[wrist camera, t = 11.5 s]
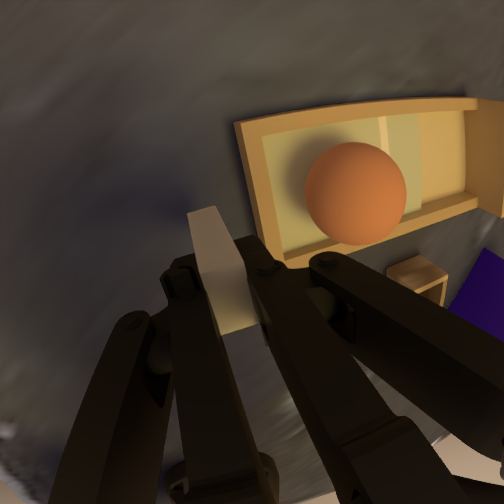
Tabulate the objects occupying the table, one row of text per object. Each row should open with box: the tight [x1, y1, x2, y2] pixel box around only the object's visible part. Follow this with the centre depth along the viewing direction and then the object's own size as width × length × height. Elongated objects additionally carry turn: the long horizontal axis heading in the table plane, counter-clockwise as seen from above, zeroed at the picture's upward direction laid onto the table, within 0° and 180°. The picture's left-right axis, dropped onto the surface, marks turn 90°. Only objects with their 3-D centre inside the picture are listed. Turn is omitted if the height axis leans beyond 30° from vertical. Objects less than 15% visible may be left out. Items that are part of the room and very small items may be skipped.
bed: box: [233, 97, 504, 269], centre depth 20 cm, size 22×10×5 cm, turn 101°
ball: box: [305, 142, 407, 246], centre depth 18 cm, size 6×6×6 cm
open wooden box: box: [386, 254, 448, 307], centre depth 25 cm, size 4×4×4 cm
